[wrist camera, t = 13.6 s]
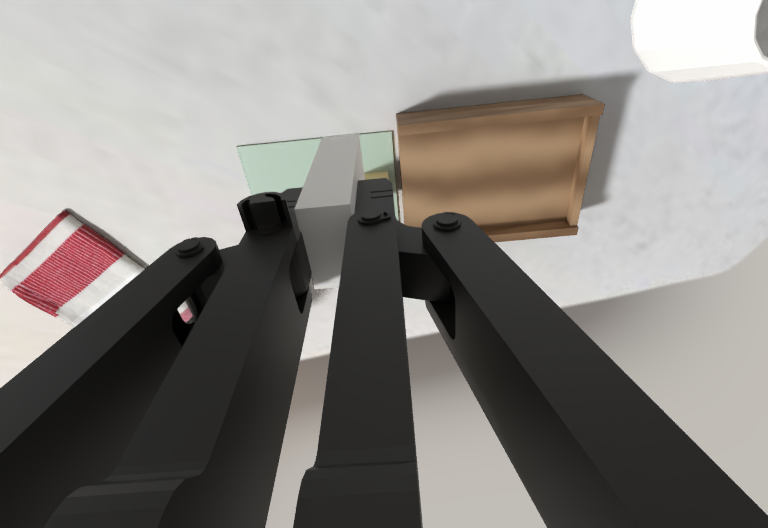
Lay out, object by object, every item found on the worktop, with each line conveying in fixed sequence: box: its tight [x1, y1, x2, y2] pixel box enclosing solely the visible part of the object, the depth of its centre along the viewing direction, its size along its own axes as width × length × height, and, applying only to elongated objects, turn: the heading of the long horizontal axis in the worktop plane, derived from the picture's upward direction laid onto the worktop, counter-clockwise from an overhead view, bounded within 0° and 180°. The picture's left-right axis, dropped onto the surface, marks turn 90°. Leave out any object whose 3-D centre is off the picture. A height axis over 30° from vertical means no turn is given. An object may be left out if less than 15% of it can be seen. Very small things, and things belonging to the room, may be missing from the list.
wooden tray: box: [396, 94, 605, 242], centre depth 44 cm, size 15×20×5 cm
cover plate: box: [236, 131, 399, 221], centre depth 45 cm, size 12×18×5 cm
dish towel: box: [0, 210, 193, 328], centre depth 55 cm, size 17×23×3 cm
